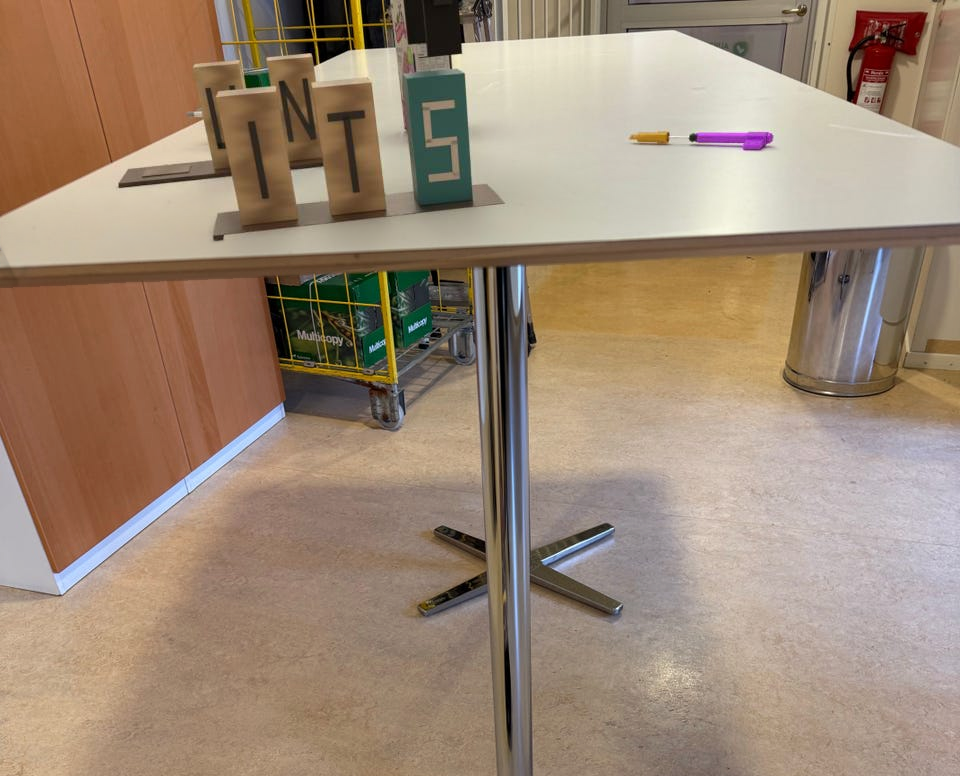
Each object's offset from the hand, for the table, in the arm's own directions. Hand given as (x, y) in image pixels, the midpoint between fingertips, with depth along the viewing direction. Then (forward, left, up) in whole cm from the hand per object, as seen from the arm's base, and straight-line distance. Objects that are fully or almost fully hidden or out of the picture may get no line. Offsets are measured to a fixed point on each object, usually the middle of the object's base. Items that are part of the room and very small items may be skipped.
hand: (433, 49), depth 78 cm
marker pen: (+30, +14, -12) cm, 35 cm away
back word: (-20, +30, -12) cm, 38 cm away
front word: (-8, 0, -12) cm, 15 cm away
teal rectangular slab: (0, 0, -12) cm, 12 cm away
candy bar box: (+4, +39, -12) cm, 41 cm away
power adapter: (-21, +51, -12) cm, 57 cm away
